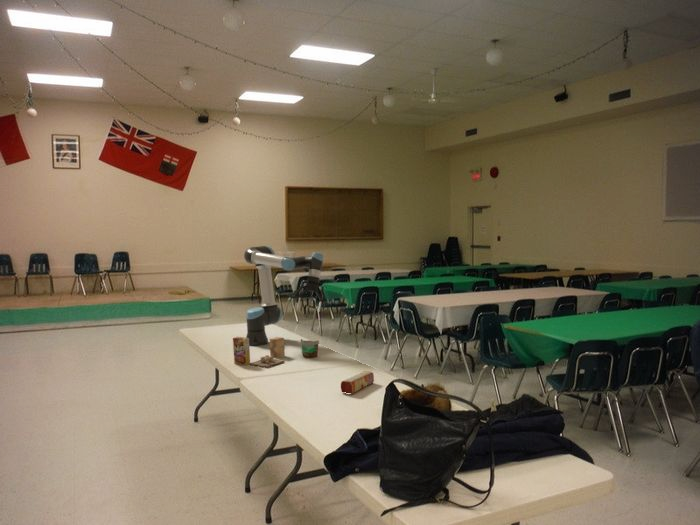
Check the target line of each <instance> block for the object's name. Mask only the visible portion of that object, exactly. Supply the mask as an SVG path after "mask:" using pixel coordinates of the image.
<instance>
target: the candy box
mask: <svg viewBox="0 0 700 525" xmlns="http://www.w3.org/2000/svg"><path fill="white" fill-rule="evenodd" d="M232 347H233V348H232V349H233V360H234V361H233V363H234V364H235V365H241V364H243V365H244V366H247V364H248V365H250V364H249V363H251V352H250V349H251V348H250V345H249V338H246V337H244V336H243V337H242V336H234V337H233V338H232ZM243 365H242V366H243Z"/></svg>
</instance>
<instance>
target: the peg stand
mask: <svg viewBox="0 0 700 525" xmlns="http://www.w3.org/2000/svg"><path fill="white" fill-rule="evenodd" d="M283 362H285V363H286V361H285V360H282V359H277V358H276V359H275V358H274V357H273V356H270V355H264V356H260V360H256V361H253V362H250V363H249V364H248V365H249V366H252V365H254V366H253V367H257V366H259V367H258V368H263V367H265V368H264V369H270V368H272V367H271V366H273V367H276V366H278V364H279V365H281V363H282V364H284V363H283ZM275 365H276V366H275ZM269 367H270V368H269Z"/></svg>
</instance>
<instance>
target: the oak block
mask: <svg viewBox="0 0 700 525" xmlns="http://www.w3.org/2000/svg"><path fill="white" fill-rule="evenodd" d="M269 354H270V355H269V356H273V358H274V357H276V359H279V357H280V358H282V356H283V357H285V354H286V352H285V338H284V337H281V336H276V337H272V338H269Z"/></svg>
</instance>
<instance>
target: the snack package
mask: <svg viewBox="0 0 700 525" xmlns="http://www.w3.org/2000/svg"><path fill="white" fill-rule="evenodd" d="M373 382H375V376H374V372H373V371H368V370H364V371H362V372H360V373H356V374H355V375H353V376H351V377H349V378H346V379H344V380H342V381H341V382H340V390H341V393H342V392H346V393H353V394H355V393H357V392H359V391H360V389H361V390H362V389H364V388H366V387H368V386H370V385H372V384H371V383H373ZM369 384H370V385H369ZM373 384H374V383H373ZM367 385H368V386H367ZM365 386H366V387H365ZM358 390H359V391H358ZM356 391H357V392H356ZM354 392H355V393H354Z"/></svg>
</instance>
